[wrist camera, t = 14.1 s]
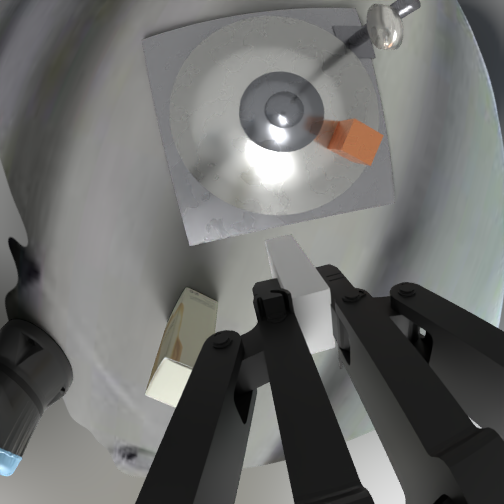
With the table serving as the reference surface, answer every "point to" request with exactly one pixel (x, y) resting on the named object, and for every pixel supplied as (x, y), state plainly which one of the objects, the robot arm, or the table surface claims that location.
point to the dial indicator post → (377, 28)
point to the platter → (241, 147)
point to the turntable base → (204, 202)
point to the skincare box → (181, 345)
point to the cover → (281, 112)
